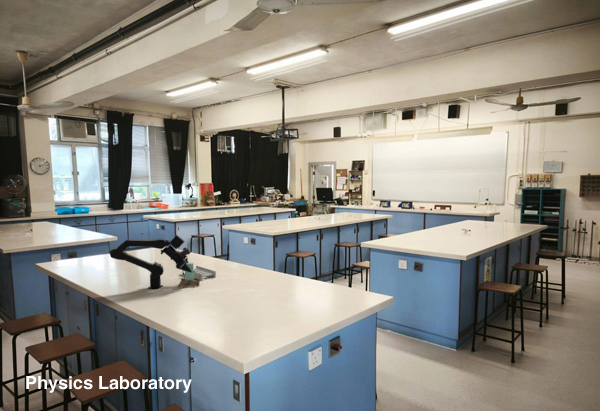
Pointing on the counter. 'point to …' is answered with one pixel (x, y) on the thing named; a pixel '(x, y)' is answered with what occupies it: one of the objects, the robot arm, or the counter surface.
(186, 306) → the counter surface
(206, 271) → the test tube rack
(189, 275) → the mint green tall box
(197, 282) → the track board
